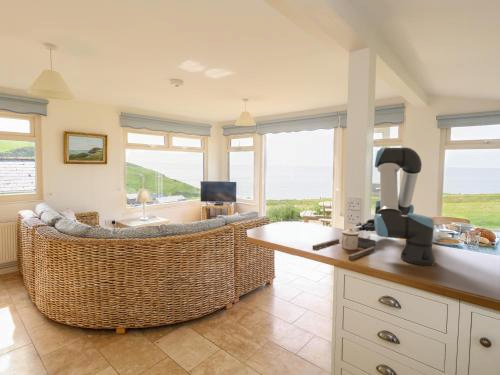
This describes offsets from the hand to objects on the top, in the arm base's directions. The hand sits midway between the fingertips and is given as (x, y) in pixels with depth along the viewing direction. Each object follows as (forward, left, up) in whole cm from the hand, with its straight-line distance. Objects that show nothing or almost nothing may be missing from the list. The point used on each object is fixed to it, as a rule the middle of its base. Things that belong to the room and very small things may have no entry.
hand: (355, 229), depth 166 cm
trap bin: (0, -6, -10) cm, 12 cm away
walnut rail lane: (0, +13, -10) cm, 16 cm away
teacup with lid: (0, +7, -10) cm, 13 cm away
